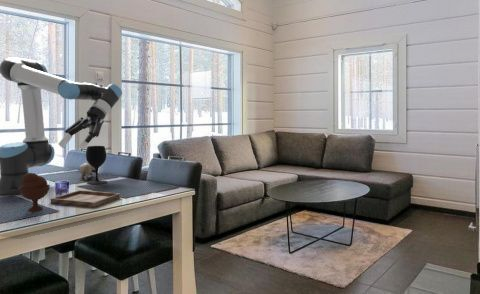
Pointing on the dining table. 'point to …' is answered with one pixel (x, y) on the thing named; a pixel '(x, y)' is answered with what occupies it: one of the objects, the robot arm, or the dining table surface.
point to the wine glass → (96, 160)
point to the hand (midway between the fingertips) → (70, 146)
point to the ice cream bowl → (34, 189)
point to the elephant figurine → (86, 170)
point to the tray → (85, 198)
